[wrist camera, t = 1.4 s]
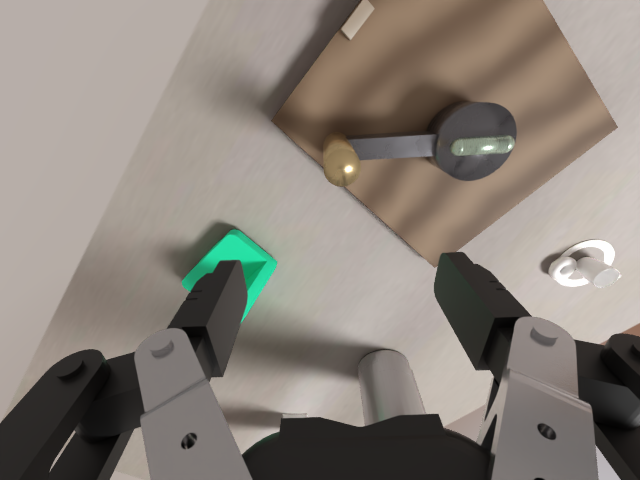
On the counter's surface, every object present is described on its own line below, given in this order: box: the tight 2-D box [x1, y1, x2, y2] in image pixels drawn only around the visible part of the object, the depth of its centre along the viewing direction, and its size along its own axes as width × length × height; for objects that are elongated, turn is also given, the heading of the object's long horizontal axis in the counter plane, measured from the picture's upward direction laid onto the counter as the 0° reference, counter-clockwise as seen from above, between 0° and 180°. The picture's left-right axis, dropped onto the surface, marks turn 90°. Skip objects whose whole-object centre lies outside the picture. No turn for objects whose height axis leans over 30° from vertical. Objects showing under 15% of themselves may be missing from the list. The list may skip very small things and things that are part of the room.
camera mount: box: [182, 229, 277, 323], centre depth 36 cm, size 12×8×10 cm, turn 134°
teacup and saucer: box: [549, 240, 621, 288], centre depth 38 cm, size 9×8×4 cm
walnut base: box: [271, 0, 618, 268], centre depth 30 cm, size 28×24×3 cm
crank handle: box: [323, 101, 517, 187], centre depth 25 cm, size 18×7×11 cm, turn 93°
